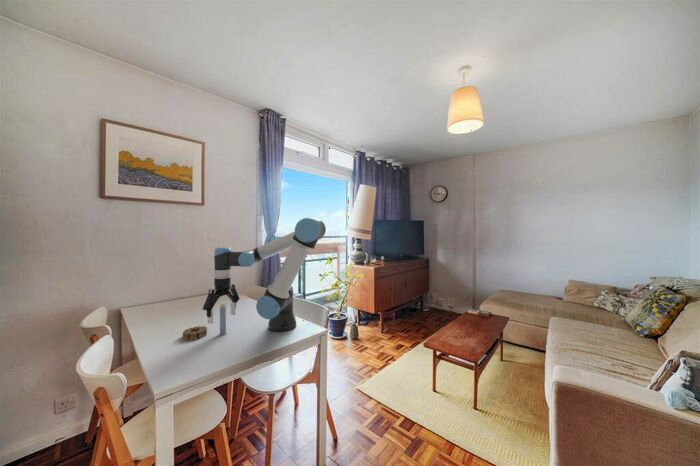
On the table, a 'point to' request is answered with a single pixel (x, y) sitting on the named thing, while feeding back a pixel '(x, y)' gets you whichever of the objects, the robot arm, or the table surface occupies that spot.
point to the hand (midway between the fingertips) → (222, 318)
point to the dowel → (222, 319)
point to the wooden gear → (194, 333)
